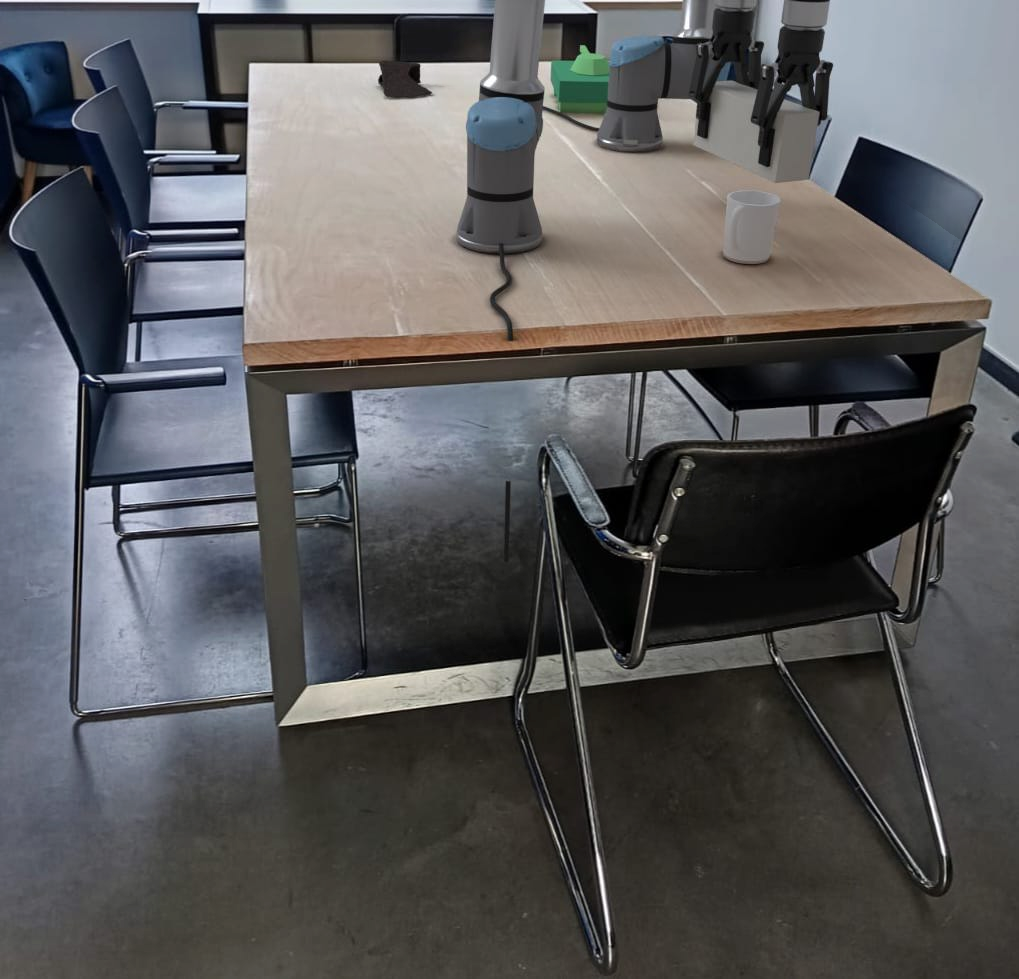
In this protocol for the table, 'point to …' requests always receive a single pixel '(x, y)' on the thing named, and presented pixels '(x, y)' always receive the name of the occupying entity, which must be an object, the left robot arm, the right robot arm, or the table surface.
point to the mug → (750, 226)
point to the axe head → (401, 79)
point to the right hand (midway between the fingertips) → (719, 135)
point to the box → (740, 137)
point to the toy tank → (581, 83)
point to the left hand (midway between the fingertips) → (782, 162)
